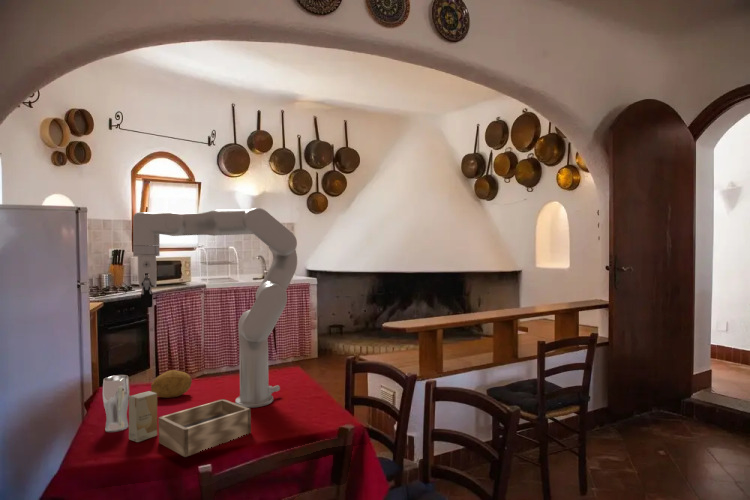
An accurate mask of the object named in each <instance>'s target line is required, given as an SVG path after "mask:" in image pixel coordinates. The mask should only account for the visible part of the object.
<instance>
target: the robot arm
mask: <svg viewBox="0 0 750 500" xmlns="http://www.w3.org/2000/svg"><path fill="white" fill-rule="evenodd" d="M132 221H133V222H132V226H133V228H132V232H133V233H132V234H133V236H132V237H133V238H132V239H133V243H132V244H133V246H132V248H133V249H132V252H133V254H132V256H133V257H137V278H138V286H139V288H140V289H141V293H140V308H142V309H144V308H145V309H146V308H153V291H152V287H153V288H156V287H157V286H158V285H157V278H158V277H157V271H158V270H157V257H160V256H161V255H160V253H161V252H160V251H161V250H160V248H161V247H160V235H165V236H171V237H180V236H181V237H182V236H184V237H185V236H202V235H203V236H212V237H213V236H234V235H236V236H237V235H238V236H239V235H240V236H241V235H254V236H255V237H257V238H258V239H259V240H260V241H261V242H263V243H264V244H265V245H266V246H268V249H269V251H270V252H271V254H272V261H271V265H270V267H269V269H268V271H267V272H266V275H265V276H264V277H263V280H262V282H261V283H260V284H259V286H258V288H257V289H256V292H255V301H254V303H253V305H251V306H252V307H251V308H250V309H248V310H246V311H244V312H243V313H242V314H241V315H240V317H239V319H238V322H237V323H238V324H237V325H238V343H239V346H238V347H239V396H237V397H236V398H235V400H234V401H235V402H234V403H236V404H238V405H241V406H244V407H247V408H249V409H251V408H252V409H253V408H259V407H264V406H269V404H271V403H272V402H274V396H273V395H272V394H274V393H275V392H279V391H280V390H281V386H280V385H278V384H277V385H274V386H272V385H270V384H269V341H268V338H269V336H270V335H271V333H272V331H273V330H274V328H275V327H276V325H277V323H278V321H279V319H280V317H281V316H282V314H283V312H284V310H285V308H286V305H287V302H288V293H287V289H288V287H290V286H289V285H290V284H291V282H292V280H293V277H294V276H295V273H296V271H297V266H298V255H297V246H298V242H297V238H296V236H295V234H294V233H293V232H292V231H291V230H290V229H288V228H287V227H286V226H285V225H283V224H282V223H281V222H280V221H279V220H278V219H276V218H275V217H274V216H273V215H271V213H269V212H268V211H266V210H265V209H263V208H260V207H254V208H249V209H248V208H245V209H244V208H243V209H215V210H210V211H205V212H196V213H195V212H194V213H191V212H190V213H178V212H175V211H168V212H157V213H156V212H151V211H147V212H143V211H139V212H135V213H134V215H133V219H132Z"/></svg>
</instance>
